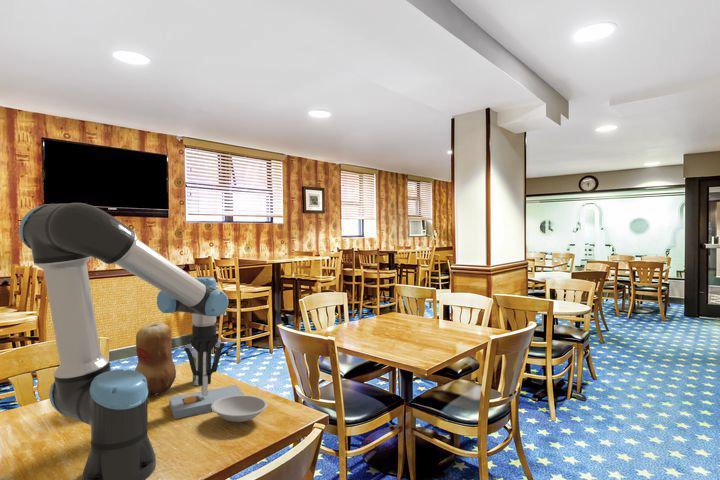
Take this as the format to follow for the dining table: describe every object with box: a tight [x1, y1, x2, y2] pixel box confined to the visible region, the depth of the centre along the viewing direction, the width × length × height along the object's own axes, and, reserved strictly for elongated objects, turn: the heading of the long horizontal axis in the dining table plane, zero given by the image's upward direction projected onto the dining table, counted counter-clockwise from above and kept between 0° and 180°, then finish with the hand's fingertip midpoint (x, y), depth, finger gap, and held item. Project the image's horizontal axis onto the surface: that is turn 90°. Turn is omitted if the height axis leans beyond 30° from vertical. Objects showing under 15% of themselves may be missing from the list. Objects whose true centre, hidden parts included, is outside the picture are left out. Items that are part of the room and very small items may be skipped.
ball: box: [183, 395, 196, 405], centre depth 134 cm, size 4×4×4 cm
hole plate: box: [168, 384, 245, 420], centre depth 137 cm, size 12×22×2 cm, turn 122°
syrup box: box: [192, 347, 206, 387], centre depth 157 cm, size 6×6×14 cm
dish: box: [211, 394, 268, 423], centre depth 125 cm, size 18×14×5 cm
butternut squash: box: [134, 322, 177, 396], centre depth 145 cm, size 14×13×25 cm
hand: (204, 394), depth 136 cm, fingers closed
